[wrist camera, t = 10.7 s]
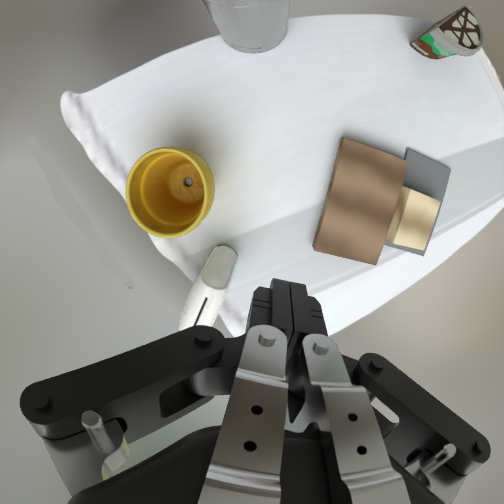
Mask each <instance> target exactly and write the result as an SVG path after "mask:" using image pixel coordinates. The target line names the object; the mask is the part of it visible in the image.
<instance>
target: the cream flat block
mask: <svg viewBox="0 0 504 504" xmlns="http://www.w3.org/2000/svg"><path fill="white" fill-rule="evenodd" d="M439 206H440V201H438V200H436V199H433V198H431V197H429V196H426V195H424V194H422V193H419V192H417V191H414V190H412V189H409V188H407V187H404V186H402V188H401V192H400V195H399V199H398V202H397V205H396V208H395V212H394V215H393V218H392V221H391V224H390V227H389V230H388V233H387V236H386V239H387V240H389V241H390V242H392V243H393V244H397V245H402V246H406V247H411V248H415V249H420V250H424V249H425V247H426V244H427V241H428V239H429V236H430V233H431V230H432V227H433V224H434V221H435V218H436V215H437V212H438V209H439Z"/></svg>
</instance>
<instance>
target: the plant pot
mask: <svg viewBox="0 0 504 504" xmlns="http://www.w3.org/2000/svg"><path fill="white" fill-rule="evenodd" d="M186 178H190V179H191V180H192V185H191V186H186V185H185V179H186ZM214 191H215V190H214V181H213V177H212V174H211V171H210V169H209V167H208V166H207V164H206V163H205V162H204V160H203V159H202V158H201V157H199V156H198V155H197V154H195V153H194V152H192V151H189V150H187V149H183V148H177V147H163V148H157V149H154V150H151V151H149V152H147V153H146V154H144V155H143V156H142V157H141V158H139V159H138V160H137V162H136V163H135V164H134V166H133V167H132V169H131V171H130V173H129V175H128V178H127V182H126V201H127V205H128V208H129V211H130V213H131V215H132V217H133V218H134V220H135V221H136V223H137V224H138V225H139V226H140V227H141V228H142V229H144V230H145V231H146V232H148V233H150V234H152V235H154V236H157V237H161V238H176V237H180V236H183V235H185V234H187V233H189V232H190V231H192V230H193V229H194V228H195V227H197V226H198V225H199V224H200V223H201V222H202V220H203V219H204V218H205V217H206V215H207V214H208V212H209V210H210V208H211V206H212V203H213V199H214Z"/></svg>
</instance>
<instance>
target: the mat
mask: <svg viewBox="0 0 504 504" xmlns="http://www.w3.org/2000/svg"><path fill="white" fill-rule="evenodd" d="M404 160H406V161H408V162H409V163H408V167H407V171H406V175H405V179H404V182H403V186H404V187H407V188H409V189H412V190H414V191H417V192H419V193H422V194H424V195H426V196H429V197H431V198H433V199H436V200H438V201H440V206H439V209H438V212H437V215H436V218H435V221H434V224H433V227H432V230H431V233H430V236H429V239H428V241H427V244H426V247H425V249H424V250H420V249H415V248H411V247H406V246H402V245H397V244H393V243H392V242H390V241H389V240H387V239H386V240H385V243H384V245H387V246H390V247H394V248H397V249H401V250H404V251H408V252H411V253H415V254H418V255H421V256H424V254H425V251H426V249H427V246H428V243H429V241H430V238H431V235H432V232H433V230H434V227H435V224H436V221H437V218H438V215H439V211H440V208H441V205H442V202H443V198H444V195H445V191H446V187H447V184H448V180H449V176H450V172H451V169H449V168H447V167H445V166H444V165H442V164H440V163H438V162H436V161H434V160H431V159H429V158H427V157H425V156H423V155H421V154H419V153H417V152H414V151H412V150H410V149H407V150H406V154H405V159H404Z"/></svg>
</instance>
